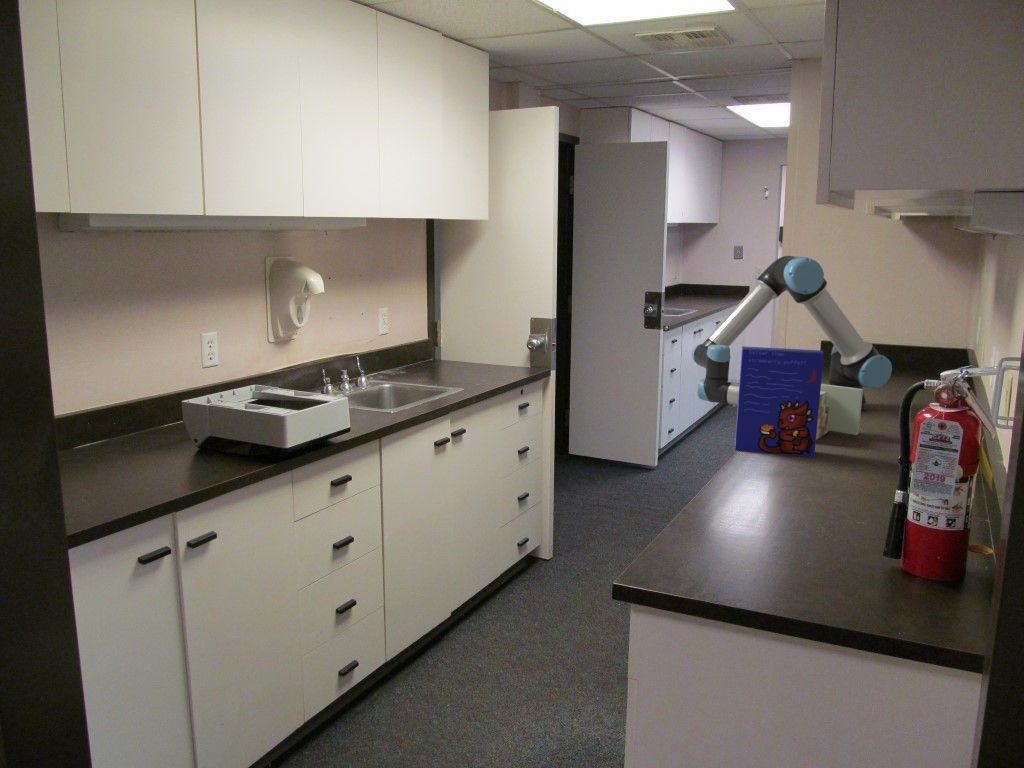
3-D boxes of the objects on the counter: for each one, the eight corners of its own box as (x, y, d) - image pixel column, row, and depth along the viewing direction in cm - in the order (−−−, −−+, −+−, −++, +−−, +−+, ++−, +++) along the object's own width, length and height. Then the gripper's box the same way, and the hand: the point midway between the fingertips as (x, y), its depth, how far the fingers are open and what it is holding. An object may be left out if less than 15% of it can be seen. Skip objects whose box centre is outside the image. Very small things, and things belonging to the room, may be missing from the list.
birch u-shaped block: (821, 429, 265) (825, 387, 262) (829, 430, 263) (833, 388, 261) (802, 442, 249) (806, 397, 246) (810, 443, 248) (814, 398, 245)
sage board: (785, 423, 265) (789, 380, 263) (787, 422, 267) (791, 379, 264) (856, 434, 253) (861, 390, 250) (858, 433, 254) (863, 389, 252)
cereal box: (811, 451, 239) (821, 349, 233) (814, 456, 233) (823, 352, 228) (734, 445, 244) (742, 345, 238) (735, 450, 238) (742, 348, 233)
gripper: (751, 402, 280) (821, 413, 267) (734, 410, 268) (806, 421, 254) (752, 381, 279) (823, 390, 265) (735, 387, 267) (809, 397, 253)
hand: (815, 405), depth 260 cm, fingers closed on sage board, 2 cm apart
